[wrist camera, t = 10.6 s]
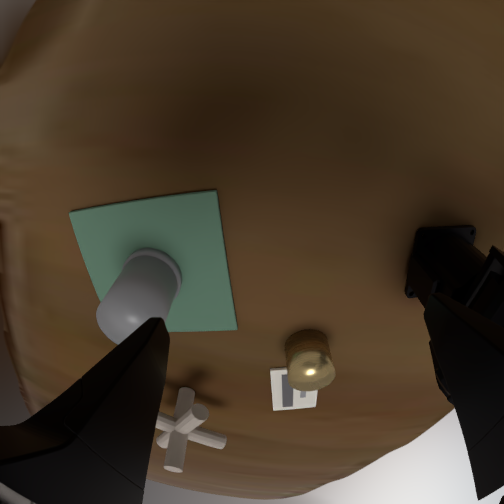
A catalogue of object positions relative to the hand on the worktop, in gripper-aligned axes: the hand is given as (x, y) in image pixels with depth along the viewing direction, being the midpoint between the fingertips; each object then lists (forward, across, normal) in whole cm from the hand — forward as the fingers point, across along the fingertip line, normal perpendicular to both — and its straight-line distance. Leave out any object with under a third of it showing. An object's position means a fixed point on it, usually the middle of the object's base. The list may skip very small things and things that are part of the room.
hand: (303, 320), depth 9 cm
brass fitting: (+12, -2, +14) cm, 19 cm away
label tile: (+12, -1, +21) cm, 24 cm away
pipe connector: (+12, +11, +21) cm, 27 cm away
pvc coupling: (+12, +10, +5) cm, 16 cm away
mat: (+12, +10, +5) cm, 16 cm away
